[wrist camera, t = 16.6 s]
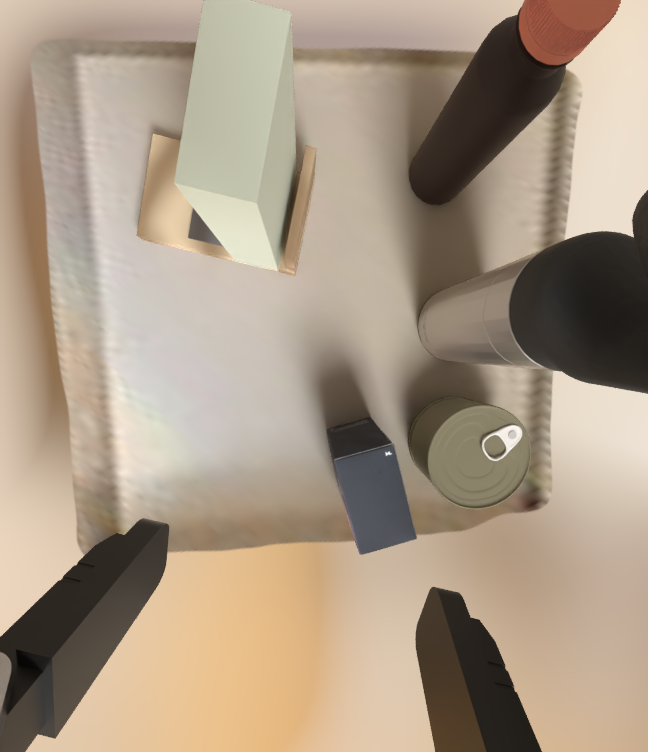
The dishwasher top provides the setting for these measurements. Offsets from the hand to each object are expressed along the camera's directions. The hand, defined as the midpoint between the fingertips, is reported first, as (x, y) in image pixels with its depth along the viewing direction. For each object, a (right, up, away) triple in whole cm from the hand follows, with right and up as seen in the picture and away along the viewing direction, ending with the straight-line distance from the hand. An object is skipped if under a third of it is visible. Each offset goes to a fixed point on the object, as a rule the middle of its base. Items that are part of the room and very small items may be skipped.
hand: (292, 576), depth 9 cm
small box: (+5, -5, +31) cm, 32 cm away
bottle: (+15, +30, +28) cm, 44 cm away
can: (+18, -2, +32) cm, 37 cm away
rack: (-10, +25, +27) cm, 38 cm away
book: (-6, +24, +26) cm, 36 cm away
